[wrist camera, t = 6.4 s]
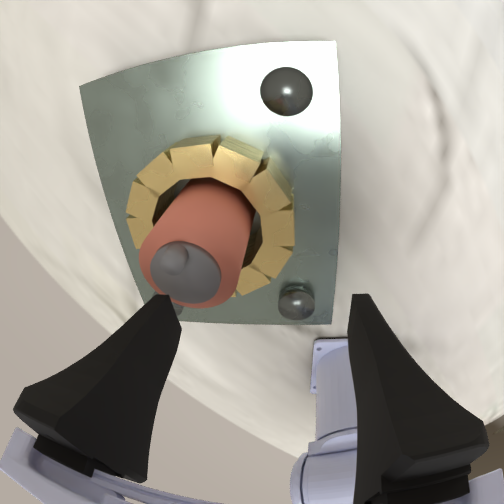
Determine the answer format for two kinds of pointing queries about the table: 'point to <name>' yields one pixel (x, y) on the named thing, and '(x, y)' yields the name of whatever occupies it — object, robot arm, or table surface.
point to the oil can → (199, 244)
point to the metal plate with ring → (232, 165)
